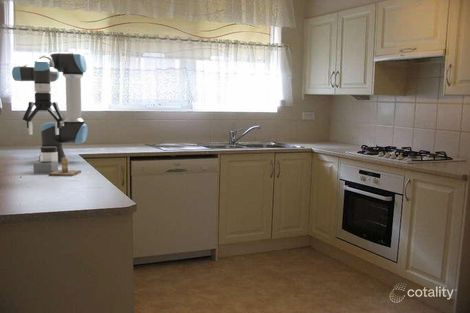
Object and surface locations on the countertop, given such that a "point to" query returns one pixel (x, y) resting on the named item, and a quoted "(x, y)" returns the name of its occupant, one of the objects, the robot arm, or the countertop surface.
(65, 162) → the keeper
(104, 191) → the countertop surface
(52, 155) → the jar
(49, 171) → the grey hollow block
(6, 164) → the countertop surface
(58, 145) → the robot arm
